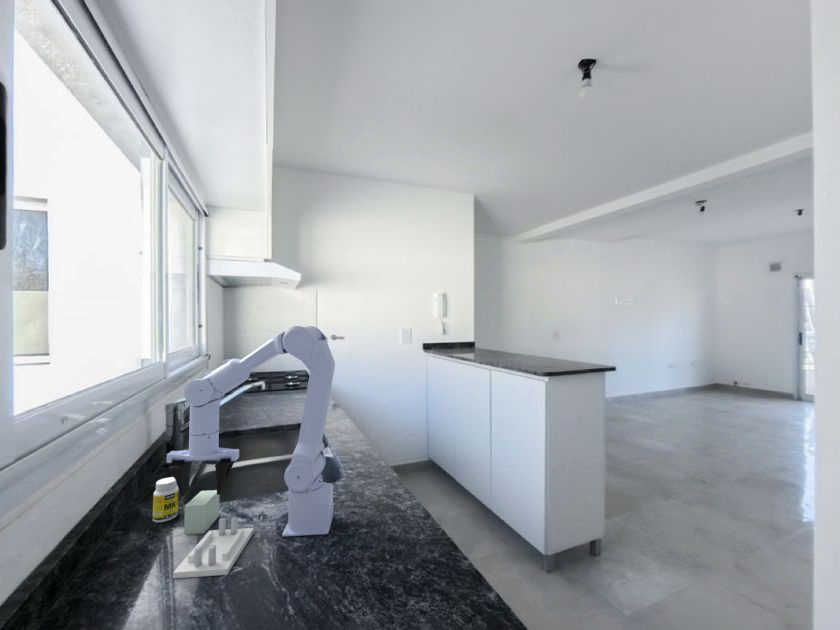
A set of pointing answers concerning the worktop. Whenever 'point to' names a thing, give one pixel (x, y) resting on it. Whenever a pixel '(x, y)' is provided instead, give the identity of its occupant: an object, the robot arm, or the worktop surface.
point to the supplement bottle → (165, 500)
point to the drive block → (201, 512)
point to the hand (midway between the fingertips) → (202, 493)
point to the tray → (215, 551)
